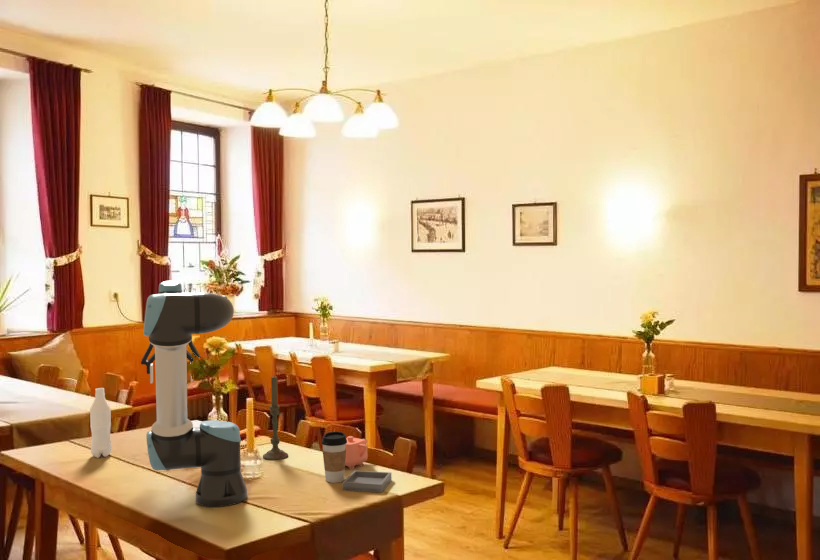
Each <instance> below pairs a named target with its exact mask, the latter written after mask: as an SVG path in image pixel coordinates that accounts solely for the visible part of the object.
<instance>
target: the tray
mask: <svg viewBox="0 0 820 560" xmlns="http://www.w3.org/2000/svg"><path fill="white" fill-rule="evenodd" d="M391 481H392V472H391V471H390V472H389V471H388V472H387V471H371V470H370V471H369V470H356V469H355V470H354V469H353V471H352V472H351V473H350V474H349V475H347V477H346V478H344V480H343V481H342V490H343V491H351V492H352V491H353V492H366V493H381V494H382V493H383V492H384V491H385V489H386V488H387V487H388V485H389V484H390V483H391Z"/></svg>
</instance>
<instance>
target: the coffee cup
mask: <svg viewBox="0 0 820 560" xmlns="http://www.w3.org/2000/svg"><path fill="white" fill-rule="evenodd" d="M346 438H347V436H346V433H345V432H342V431H328V432H326V433H323V436H322V440H321V444H322V457H323V459H322V460H323V467H324V477H325V481H326V482H328V483H331V484H332V483H333V484H334V483H336V484H337V483H341V482H343V481H344V480H345V469H346V466H345V458H346V443H347V439H346Z"/></svg>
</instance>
